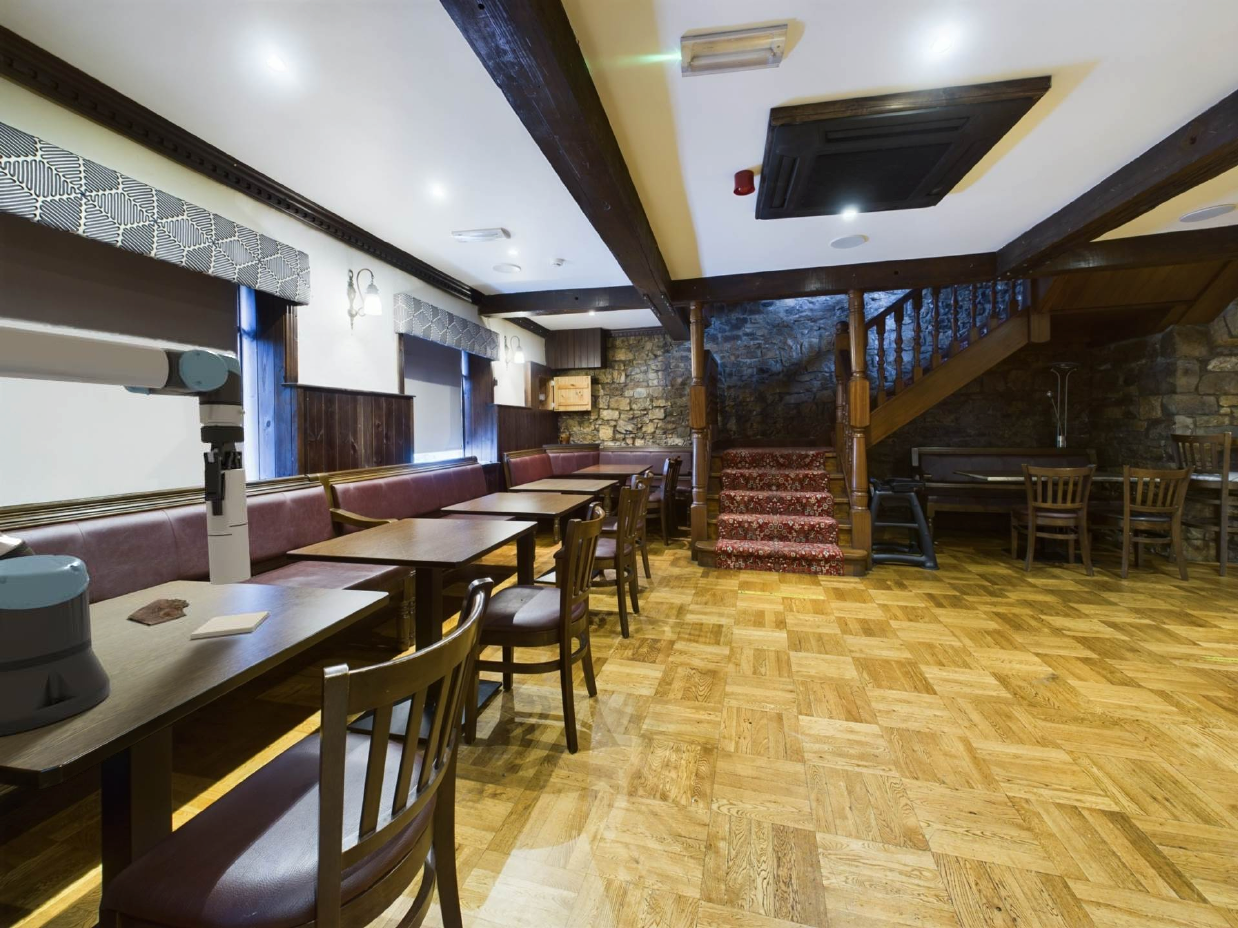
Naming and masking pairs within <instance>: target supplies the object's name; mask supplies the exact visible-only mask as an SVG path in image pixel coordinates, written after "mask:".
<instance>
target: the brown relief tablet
mask: <svg viewBox="0 0 1238 928" xmlns="http://www.w3.org/2000/svg"><path fill="white" fill-rule="evenodd" d="M187 606H190V602H187V600H186V599H179V598H174V599H167V598H164V599H163V598H159V599H158V598H157V599H156V600H154V601H152V602H150V603H149V604H146V605H145V606H142V607H141V608H139V609H138V610H137V609H136V611H134V612H133V613H131V614H130V615H128V617H127V618H128V619H132V620H134V621H137V622H141V623H144V624H150V625H149V626H150V627H152V626H153V627H154V626H157V625H161V624H164V623H168V622H169V623H170V621H174V620H177V619H180V618H182V617H185V616H187V614H186V613H185V612H184V609H185V608H186V607H187Z"/></svg>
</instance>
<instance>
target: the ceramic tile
mask: <svg viewBox="0 0 1238 928" xmlns="http://www.w3.org/2000/svg"><path fill="white" fill-rule="evenodd" d="M268 617H270V610H268V611H266V610H265V611H259V612H258V611H257V612H250V613H241V614H232V615H231V614H230V615H223V616H220V615H219V616H213V617H212V618H211V619H209V620H208V621H206V623H204V624H203V625H201V626H200V627H198V628H196V630H195V631H193V632H191V634H190V640H194V639H202V638H210V637H218V636H225V635H227V636H228V635H236V634H244V633H250V632H251V633H252V632H254V630H256V629H257V628H258V626H260V625H261V624H262V623H264V622H265V620H266V619H267V618H268Z"/></svg>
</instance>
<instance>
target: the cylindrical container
mask: <svg viewBox="0 0 1238 928" xmlns="http://www.w3.org/2000/svg"><path fill="white" fill-rule="evenodd" d="M224 472H225V481H226V490H225V499H224V500H227V509H228V527H229V530H222V531H212V520H211V503H210V501H205V510H206V528H207V545H208V546H207V547H208V564H209V567H208V568H209V580H210V581H209V582H210V585H212V586H221V585H222V586H224V585H231V584H237V583H241V582H245V581H248V580H250V579H251V578H252V577H251V560H250V543H249V523H248V501H247V486H246V485H247V484H246V483H247V482H246V468H243V469H230V470H225V471H221V474H222V473H224ZM203 475H204V480H205V470H203Z"/></svg>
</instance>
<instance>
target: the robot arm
mask: <svg viewBox="0 0 1238 928" xmlns="http://www.w3.org/2000/svg"><path fill="white" fill-rule="evenodd" d="M0 378H9V379H10V378H11V379H23V380H25V379H26V380H37V381H39V380H40V381H52V382H66V383H67V382H69V383H81V384H92V385H95V384H96V385H110V386H120V387H121V386H123V388H124V389H125V390H126V391H127V392H128V393H131V394H141V395H147V396H150V395H152V396H153V395H155V396H175V397H177V396H178V397H190V398H192V397H193V398H198V408H199V409H198V410H199V411H198V412H199V415H198V416H199V423H200V424H203V425H202V426H201V427H200V441H201V442H202V443H203V444H210V451H206V452H205V451H204V452H203V460H204V471H205V479H204V500H203V501H205V502H206V501H210V503H211V520H212V531H222V530H229V527H228V509H227V500H224V499H225V490H226V481H225V472H224V473H222V474H221V471H225V470H230V469H244V467H243V452H242V450H238V451H237V447H236V443H237V444H239V443H240V444H241V443H244V442H245V429H244V427H243V426H241V425H242V424H244V415H245V414H246V411H245V410H243V397H242V395H243V393H242V379H243V376H242V372H241V366H240V361H239V359H238V358H237V357H235V356H233V355H230V354H223V353H215V352H213V351H210V350H206V349H189V350H181V349H175V348H166V347H159V346H152V345H145V344H139V343H130V342H121V341H115V340H105V339H100V338H94V337H93V338H91V337H87V336H86V337H85V336H77V335H70V334H64V333H55V332H47V331H40V330H34V329H33V330H32V329H25V328H17V327H12V326H11V327H10V326H4V325H0ZM87 570H88V569H87V565H86V563H85V562H84V561H83V560H82V559H80V558H78V557H75V556H72V555H65V554H64V555H63V554H60V555H55V554H39V555H37V554H36V553H35V552H34V550H33V549H32V548H31V547H30V545H29V544H28V543H27V542H26V541H25V539H23V537H19V536H11V535H6V534H4V533H2V532H1V531H0V737H1V736H8V735H12V734H16V733H22V732H26V731H28V730H32V729H33V730H34V729H37V728H40V727H43V726H47V725H50V724H53V723H55V722H56V723H57V722H59V721H63V720H65V719H67V718H70V717H72V716H75V715H77V714H80V713H83V712H84V711H86V710H88V709H90V708H93V706H96V705H97V704H99V703H101V702H102V701H104V700H105V699H106V698H107V697H109V695H110V694H111V684H110V676H109V675H108V674H107V672H106V669H104V666H103V665H102V663H101V662H100V659H99V658H98V656H97V655H96V653H95V651H94V650H93V649H94V648H93V644H92V628H91V626H92V625H91V610H90V595H89V594H90V593H89V583H90V576H89V574H88V572H87Z"/></svg>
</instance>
